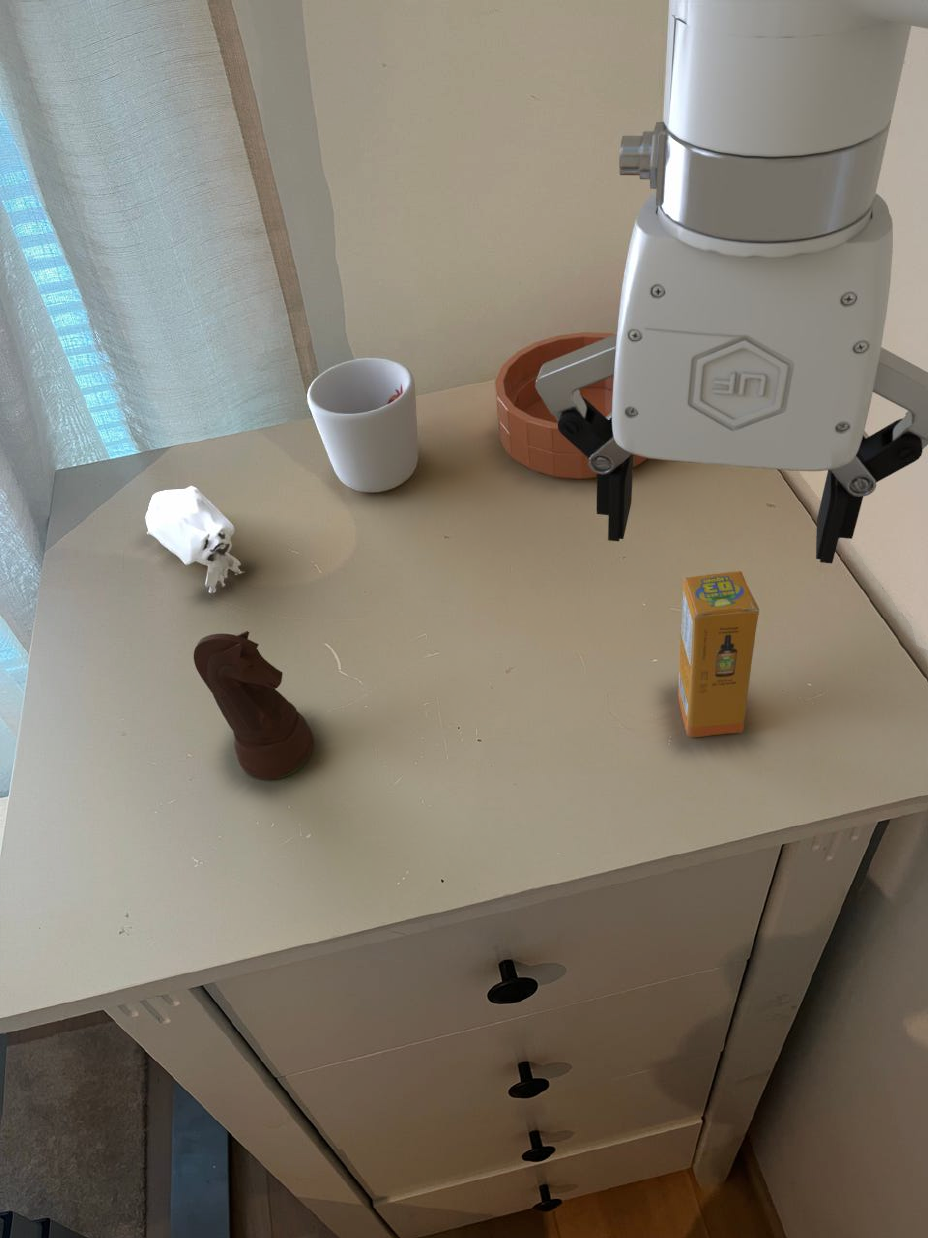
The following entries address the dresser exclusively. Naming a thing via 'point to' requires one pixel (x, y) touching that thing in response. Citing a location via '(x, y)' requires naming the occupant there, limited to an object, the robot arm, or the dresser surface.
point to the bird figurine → (193, 531)
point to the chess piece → (254, 706)
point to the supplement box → (716, 653)
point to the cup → (367, 422)
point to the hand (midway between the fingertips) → (719, 532)
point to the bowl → (545, 409)
